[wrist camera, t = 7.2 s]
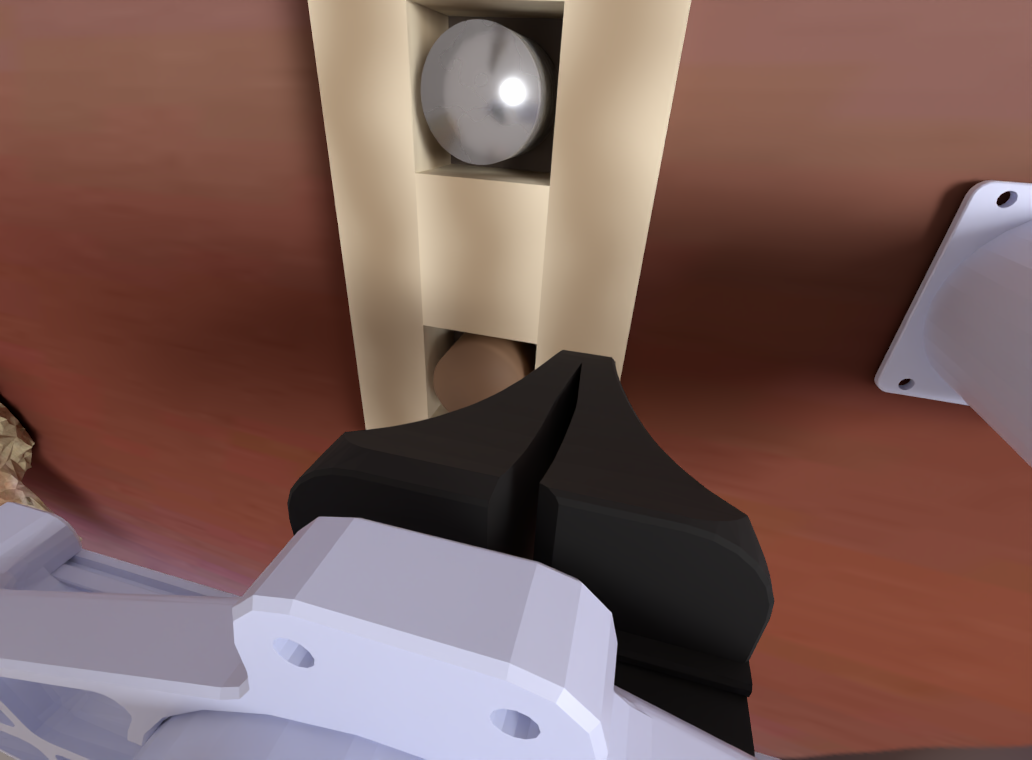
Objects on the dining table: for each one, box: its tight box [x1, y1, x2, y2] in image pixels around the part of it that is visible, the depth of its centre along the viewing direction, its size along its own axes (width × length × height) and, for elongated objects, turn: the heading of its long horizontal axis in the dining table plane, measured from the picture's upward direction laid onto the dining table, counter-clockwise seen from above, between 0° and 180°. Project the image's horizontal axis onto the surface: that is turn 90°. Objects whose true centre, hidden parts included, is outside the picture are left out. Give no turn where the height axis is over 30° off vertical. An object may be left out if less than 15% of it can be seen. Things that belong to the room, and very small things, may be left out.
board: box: [308, 0, 691, 430], centre depth 20 cm, size 12×24×4 cm, turn 177°
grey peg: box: [421, 19, 558, 165], centre depth 17 cm, size 4×4×3 cm
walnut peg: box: [433, 332, 537, 412], centre depth 22 cm, size 4×4×3 cm
